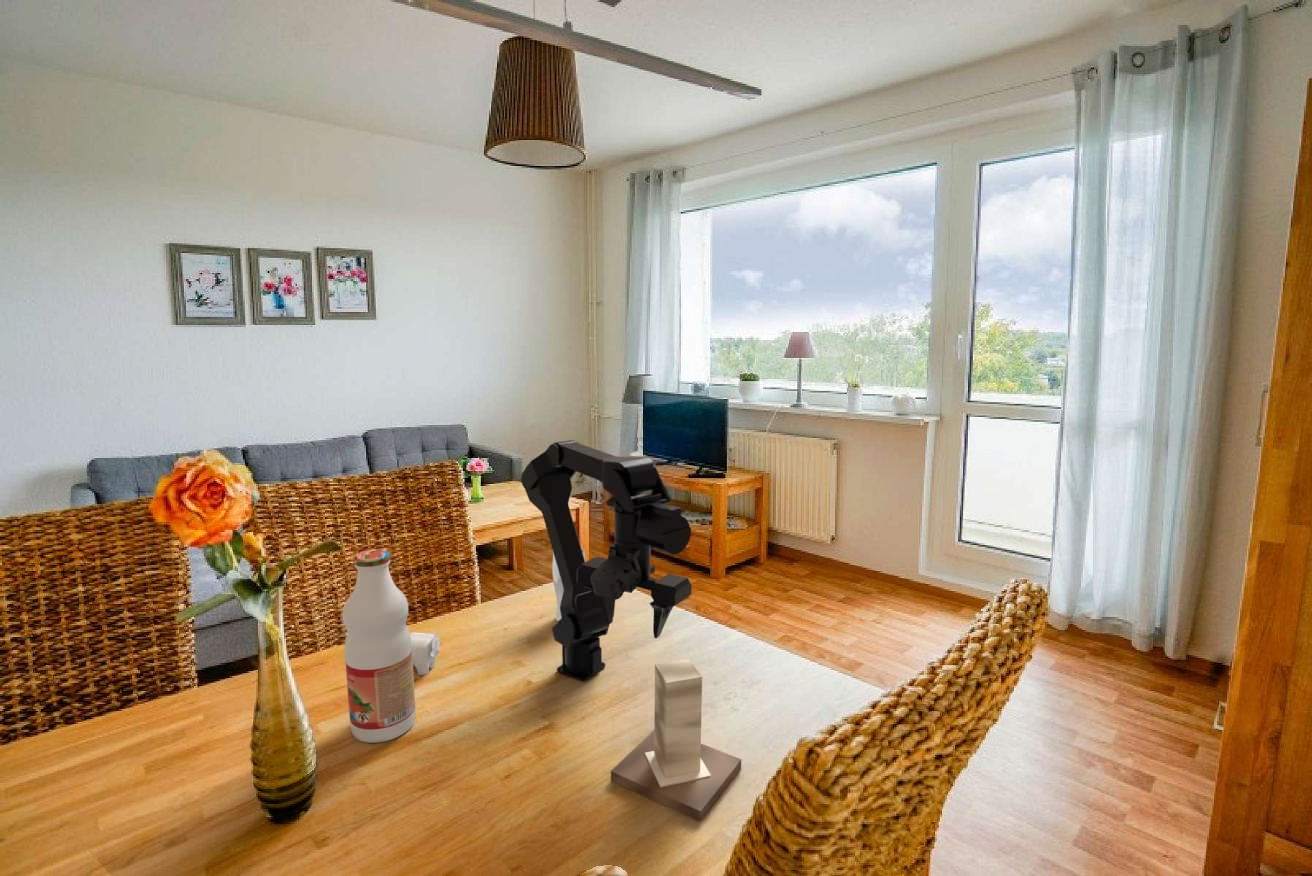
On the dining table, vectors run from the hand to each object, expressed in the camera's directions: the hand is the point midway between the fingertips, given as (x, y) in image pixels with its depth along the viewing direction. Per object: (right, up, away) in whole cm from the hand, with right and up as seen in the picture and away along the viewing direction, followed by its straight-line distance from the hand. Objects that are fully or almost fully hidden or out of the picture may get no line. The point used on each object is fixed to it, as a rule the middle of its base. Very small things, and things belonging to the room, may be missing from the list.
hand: (632, 630), depth 107 cm
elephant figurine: (-39, -11, +14) cm, 43 cm away
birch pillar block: (+7, -14, -15) cm, 22 cm away
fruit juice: (-38, -14, -4) cm, 41 cm away
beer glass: (-14, -7, +33) cm, 37 cm away
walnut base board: (+7, -16, -15) cm, 23 cm away
